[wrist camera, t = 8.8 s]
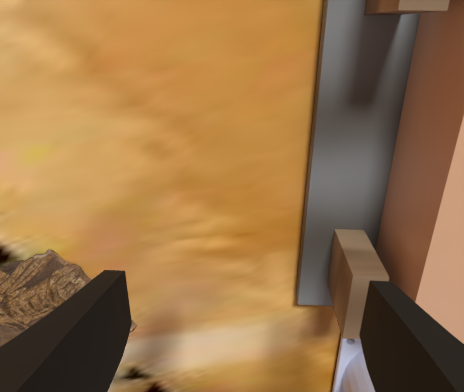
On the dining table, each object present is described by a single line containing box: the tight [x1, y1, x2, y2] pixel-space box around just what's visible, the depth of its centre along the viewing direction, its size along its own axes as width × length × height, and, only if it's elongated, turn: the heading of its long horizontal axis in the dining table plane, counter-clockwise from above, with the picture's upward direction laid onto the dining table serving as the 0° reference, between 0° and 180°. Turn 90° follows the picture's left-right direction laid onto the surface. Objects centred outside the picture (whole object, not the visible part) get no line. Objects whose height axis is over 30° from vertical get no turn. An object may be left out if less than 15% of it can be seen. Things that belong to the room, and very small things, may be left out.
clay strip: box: [375, 0, 464, 344], centre depth 15 cm, size 16×2×5 cm, turn 0°
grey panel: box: [296, 0, 450, 339], centre depth 16 cm, size 20×10×5 cm, turn 0°
